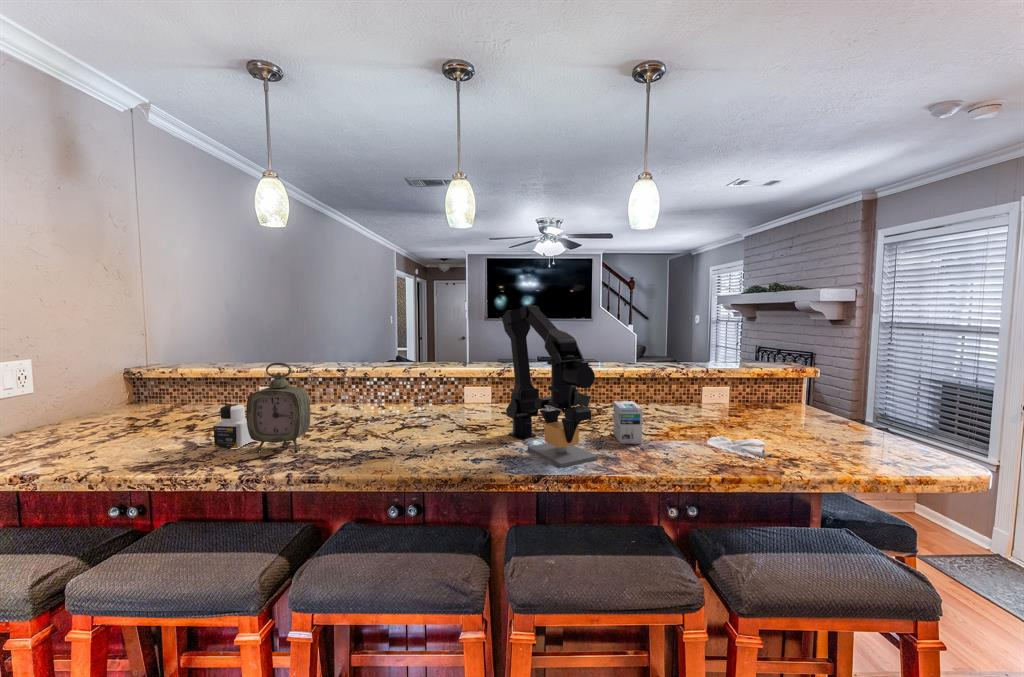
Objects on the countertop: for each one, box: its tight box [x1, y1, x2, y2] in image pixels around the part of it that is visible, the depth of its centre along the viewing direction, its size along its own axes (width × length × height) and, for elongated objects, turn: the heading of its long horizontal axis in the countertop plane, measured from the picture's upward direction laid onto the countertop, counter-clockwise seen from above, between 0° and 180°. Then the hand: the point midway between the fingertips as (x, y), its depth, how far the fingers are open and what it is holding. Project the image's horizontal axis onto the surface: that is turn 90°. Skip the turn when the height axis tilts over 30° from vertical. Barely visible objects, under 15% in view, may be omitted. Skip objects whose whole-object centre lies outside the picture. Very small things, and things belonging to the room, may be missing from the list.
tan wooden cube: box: [544, 420, 580, 448], centre depth 124 cm, size 7×7×5 cm
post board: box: [527, 442, 599, 469], centre depth 124 cm, size 16×12×4 cm
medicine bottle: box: [213, 403, 254, 449], centre depth 133 cm, size 7×7×12 cm
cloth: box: [706, 435, 774, 461], centre depth 130 cm, size 20×22×2 cm
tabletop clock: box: [245, 362, 312, 453], centre depth 129 cm, size 14×9×25 cm, turn 92°
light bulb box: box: [612, 400, 643, 445], centre depth 139 cm, size 11×7×11 cm, turn 179°
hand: (561, 439), depth 124 cm, fingers closed on tan wooden cube, 7 cm apart
